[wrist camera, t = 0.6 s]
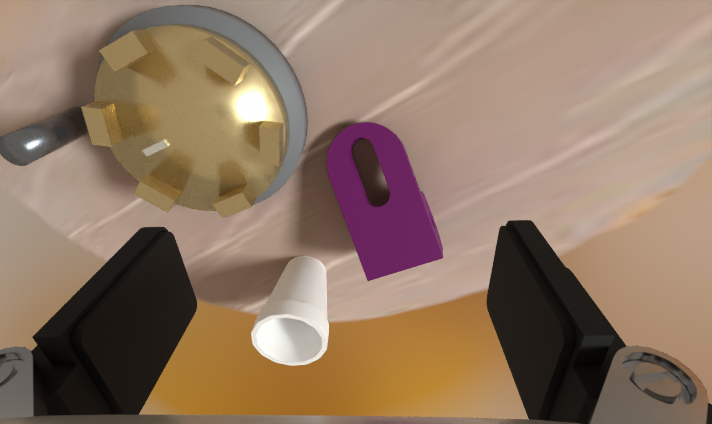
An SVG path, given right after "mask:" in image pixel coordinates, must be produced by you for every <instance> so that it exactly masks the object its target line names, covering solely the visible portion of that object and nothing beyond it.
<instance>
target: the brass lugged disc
mask: <svg viewBox="0 0 712 424" xmlns="http://www.w3.org/2000/svg"><path fill="white" fill-rule="evenodd" d="M99 52H100V53H101V54H102V56H103V57H104V60H103V61H102V63H101V66H100V68H99V70H98V73H97V78H96V82H95V91H94V102H92V103H89V104H87V105H84V106H82V107H81V108H82V111H83V115H84V118H85V122H86V125H87V129H88V132H89V136H90V139H91V143H92V145H98V146H107V147H109V148H110V149H111V151H112V153H113V154H114V156H115V157H116V158H117V160H118V161H119V162H120V164H121V165H122V166H123V167H124V168H125V169H126V170H127V172H128V173H129V174H130V175H131V176H133V177H134V178H135V179H136V180H137V181H138V182H139V184H138V186H137V188H136V190H135V193H134V194H135V195H137V196H138V197H140V198H142V199H144V200H146V201H148V202H149V203H151V204H153V205H155V206H157V207H159V208H160V209H162V210H164V211H166V212H169V211H170V209H171V208H172V207H173V206H174V205H175V204H178V205H181V206H184V207H188V208H192V209H198V210H206V211H218V213H219V214H220V216H221V217H222V218H225V217H228V216H230V215H233V214H235V213H238V212H240V211H243V210H245V209H248V208H250V207H252V206H253V204H254V202H255V200H256V199H257V197H259V196H260V195H261V194H263V193H264V192H265V191H266V190H267V189H268V188H269V186H270V185H271V184H272V183H273V181H274V180H275V178H276V176H277V174H278V173H279V171H280V169H281V167H282V165H283V163H284V160H285V158H286V155H287V151H288V146H289V138H290V128H289V119H288V113H287V109H286V106H285V103H284V100H283V97H282V95H281V93H280V91H279V89H278V86H277V85H276V83H275V82H274V80H273V78H272V77H271V75H270V74H269V73H268V71H267V70H266V69H265V67H264V66H263V65H262V64H261V63H260V62H259V61H258V60H257V59H256V58H255V57H254V56H253V55H252V54H251V53H250V52H249V51H248V50H246V49H245V48H244V47H243V46H241V45H240V44H238V43H237V42H235V41H234V40H232V39H230V38H229V37H227V36H225V35H223V34H221V33H218V32H216V31H213V30H210V29H207V28H204V27H200V26H195V25H190V24H169V25H161V26H156V27H150V28H146V29H140V30H134V31H131V32H130V33H128V34H126V35H124V36H123V37H121V38H119V39H118V40H116V41H114V42H113V43H111V44H109V45H108V46H106V47H104V48H102V49H101V50H99Z"/></svg>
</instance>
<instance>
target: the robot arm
mask: <svg viewBox="0 0 712 424" xmlns="http://www.w3.org/2000/svg"><path fill="white" fill-rule="evenodd" d="M487 308H488V312H489V315H490V317H491V320H492V323H493V325H494V328H495V330H496V333H497V336H498V339H499V341H500V344H501V346H502V349H503V352H504V354H505V357H506V360H507V362H508V365H509V368H510V370H511V373H512V376H513V378H514V381H515V383H516V386H517V389H518V392H519V394H520V397H521V400H522V402H523V405H524V408H525V410H526V413H527V416H528V418H529V420H524V419H523V420H522V419H491V418H489V419H488V418H455V417H384V416H382V417H381V416H380V417H379V416H291V415H290V416H289V415H287V416H286V415H283V416H282V415H139V413H140V411H141V409H142V408H143V406H144V404H145V402H146V400H147V399H148V397H149V395H150V393H151V391H152V390H153V388H154V386H155V384H156V382H157V381H158V379H159V377H160V375H161V373H162V372H163V370H164V368H165V366H166V364H167V363H168V361H169V359H170V357H171V355H172V354H173V352H174V350H175V348H176V346H177V345H178V342H179V341H180V339H181V337H182V336H183V334H184V332H185V330H186V328H187V327H188V325H189V323H190V321H191V319H192V317H193V316H194V314H195V312H196V309H197V300H196V297H195V294H194V291H193V289H192V286H191V283H190V280H189V277H188V274H187V272H186V269H185V266H184V263H183V260H182V257H181V254H180V252H179V249H178V246H177V243H176V240H175V237H174V235H173V234H172V233H171V232H168V230H167V229H166V228H164V227H144V228H141V229H140V230H138V231H137V232H136V233H135V235H134V236H133V237H132V238H131V239H130V240H129V241H128V242H127V243H126V244H125V245H124V246H123V247H122V248H121V249H120V250H119V251H118V252H117V253H116V254H115V255H114V256H113V257H112V258H111V259H110V260H109V261H108V262H107V263H106V264H105V265H104V266H103V267H102V268H101V269H100V270H99V271H98V272H97V273H96V274H95V275H94V276H93V277H92V278H91V279H90V280H89V281H88V282H87V283H86V284H85V285H84V286H83V287H82V288H81V289H80V290H79V291H78V292H77V293H76V294H75V295H74V296H73V297H72V298H71V299H70V300H69V301H68V302H67V303H66V304H65V305H64V306H63V307H62V308H61V309H60V310H59V311H58V312H57V313H56V314H55V315H54V316H53V317H52V318H51V319H50V320H49V321H48V322H47V323H46V324H45V325H44V326H43V327H42V328H41V329H40V330H39V331H38V332H37V333H36V334H35V335H34V336H33V339H34V340H35V342H36V343H37V344H38V345H37V346H36V347H35V348H34V349H33V350H32V352H31V350H29V349H27V348H25V347H10V348H4V349H2V350H0V424H712V405H711V404H710V403H708V395H707V390H706V388H705V387H704V385H703V383H702V382H701V380H700V379H699V378H698V377H697V376H696V375H695V373H694V372H693V371H692V370H691V369H690V368H688V367H687V366H685V365H684V364H683V363H681V362H680V361H679V360H677V359H675V358H673V357H671V356H669V355H668V354H666V353H664V352H661V351H658V350H655V349H652V348H649V347H642V346H626V345H625V343H624V342H623V341H622V339H621V338H620V337H619V335H618V334H617V333H616V331H615V330H614V328H613V327H612V326H611V324H610V323H609V322H608V320H607V319H606V318H605V316H604V315H603V314H602V312H601V311H600V309H599V308H598V307H597V305H596V304H595V303H594V301H593V300H592V299H591V297H590V296H589V295H588V293H587V292H586V290H585V289H584V288H583V286H582V285H581V284H580V282H579V281H578V280H577V278H576V277H575V275H574V274H573V273H572V272H571V271H570V270H569V269H568V268H566V267H565V266H564V264H563V263H562V262H561V261H560V259H559V258H558V256H557V255H556V253H555V252H554V251H553V249H552V248H551V247H550V245H549V244H548V242H547V241H546V240H545V238H544V237H543V236H542V234H541V233H540V231H539V230H538V229H537V227H536V226H535V224H534V223H533V222H532V221H530V220H517V221H508V222H507V224H506V226H501V227H500V230H499V234H498V240H497V245H496V251H495V256H494V262H493V267H492V273H491V278H490V283H489V289H488V294H487Z"/></svg>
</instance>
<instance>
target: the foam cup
mask: <svg viewBox="0 0 712 424" xmlns="http://www.w3.org/2000/svg"><path fill="white" fill-rule="evenodd" d="M251 335H252V341H253V345H254V346H255V348H256V349H257V350H258V351H259V352H260V353H261V355H263V356H265V357H266V358H268V359H270V360H272V361H274V362H276V363H281V364H286V365H291V366H292V365H305V364H309V363H311V362H313V361H315V360H317V359H319V358H320V357H321V356H322V355H323V353H324V352H325V351H326V349H327V343H328V335H329V323H328V321H327V288H326V269H325V267H324V265H323V264H322V262H320V261H319V260H317V259H316V258H313V257H309V256H298V257H295V258H293V259H291V260H290V261H289V262H288V264H287V266H286V267H285V269H284V271H283V273H282V275H281V276H280V278H279V280H278V282H277V284H276V286H275V288H274V290H273V291H272V293H271V295H270V297H269V299H268V301H267V303H266V305H265V306H264V307H263V308H262V309H261V311H260V313H259V315H258V316H257V318H256V321H255V324H254V326H253V329H252V332H251Z"/></svg>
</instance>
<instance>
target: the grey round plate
mask: <svg viewBox="0 0 712 424" xmlns="http://www.w3.org/2000/svg"><path fill="white" fill-rule="evenodd" d="M169 24H190V25H195V26H200V27H204V28H207V29H210V30H213V31H216V32H218V33H221V34H223V35H225V36H227V37H229V38H230V39H232V40H234V41H235V42H237V43H238V44H240V45H241V46H243V47H244V48H245V49H246V50H248V51H249V52H250V53H251V54H252V55H253V56H254V57H255V58H256V59H257V60H258V61H259V62H260V63H261V64H262V65H263V66H264V67H265V69H266V70H267V71H268V73H269V74H270V75H271V77H272V78H273V80H274V82H275V83H276V85H277V86H278V89H279V91H280V93H281V95H282V97H283V100H284V103H285V106H286V109H287V113H288V119H289V128H290V138H289V146H288V151H287V155H286V158H285V160H284V163H283V165H282V167H281V169H280V171H279V173H278V174H277V176H276V178H275V180H274V181H273V183H272V184H271V185H270V186H269V188H268V189H267V190H266V191H265V192H264V193H263V194H261V195H260V196H259V197H257V199H256V200H255V202H254V204H256V203H259V202H261V201H263V200H265V199H267V198H269V197H270V196H271V195H273V194H274V193H276V192H277V191H278V190H279V189H280V188H281V187H282V186H283V185H284V184H285V183H286V182H287V180H288V179H289V178H290V176H291V175H292V173H293V171H294V169H295V167H296V165H297V163H298V161H299V159H300V156H301V154H302V151H303V148H304V145H305V141H306V136H307V123H308V120H307V108H306V103H305V99H304V95H303V92H302V89H301V86H300V83H299V81H298V79H297V77H296V75H295V73H294V70H293V69H292V67H291V66H290V64H289V62H288V61H287V59H286V58H285V57H284V55H283V54H282V53H281V52H280V50H279V49H278V48H277V47H276V45H274V44H273V43H272V42H271V41H270V40H269V39H268V38H267V37H266V36H265V35H264V34H263V33H262V32H260V31H259V30H258V29H256V28H255V27H254V26H252V25H251V24H249V23H247V22H246V21H244V20H242V19H241V18H239V17H237V16H234V15H232V14H230V13H228V12H225V11H222V10H218V9H215V8H212V7H205V6H198V5H179V6H168V7H162V8H156V9H152V10H149V11H146V12H143V13H140V14H139V15H137V16H135V17H133V18H131V19H130V20H128V21H127V22H126V23H124V24H123V25H122V26H121V27H120V28H118V30H117V31H116V32H115V33H114V34H113V36H112V37H111V38H110V40H109V41H108V43H107V45H106V46H108V45H109V44H111V43H113V42H114V41H116V40H118V39H119V38H121V37H123V36H124V35H126V34H128V33H130V32H131V31H134V30H140V29H146V28H150V27H156V26H161V25H169ZM103 60H104V57H103V56H101V59H100V62H99V67H98V70H99V68H100V66H101V63H102V61H103ZM97 73H98V72H97ZM254 204H253V205H254Z"/></svg>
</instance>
